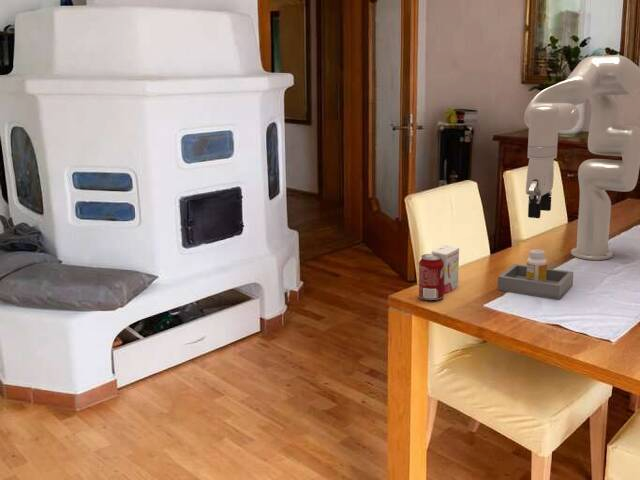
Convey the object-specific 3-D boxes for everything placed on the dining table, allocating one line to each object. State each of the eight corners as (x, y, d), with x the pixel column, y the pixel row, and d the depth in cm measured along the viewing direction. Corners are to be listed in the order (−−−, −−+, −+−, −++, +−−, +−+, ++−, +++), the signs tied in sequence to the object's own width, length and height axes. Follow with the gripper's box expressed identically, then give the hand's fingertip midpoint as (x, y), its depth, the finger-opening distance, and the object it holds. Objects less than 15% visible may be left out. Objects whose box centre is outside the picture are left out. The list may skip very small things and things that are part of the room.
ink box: (445, 294, 185) (446, 254, 182) (429, 291, 188) (430, 251, 185) (459, 286, 191) (460, 246, 188) (443, 283, 194) (444, 244, 191)
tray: (513, 276, 198) (514, 263, 197) (572, 285, 188) (573, 272, 187) (497, 290, 187) (498, 276, 186) (559, 300, 177) (560, 285, 176)
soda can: (438, 303, 178) (438, 261, 175) (415, 299, 181) (415, 258, 178) (447, 296, 183) (448, 254, 180) (424, 292, 187) (425, 251, 184)
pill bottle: (545, 281, 189) (547, 249, 187) (545, 287, 184) (547, 254, 182) (526, 280, 191) (527, 248, 188) (525, 286, 186) (527, 253, 184)
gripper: (537, 147, 187) (535, 206, 191) (518, 156, 173) (515, 219, 178) (565, 148, 183) (561, 208, 187) (547, 157, 169) (544, 222, 173)
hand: (539, 213), depth 182 cm, fingers open, 9 cm apart
